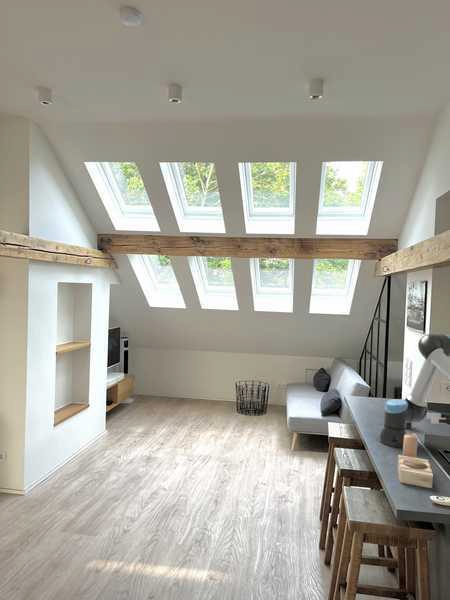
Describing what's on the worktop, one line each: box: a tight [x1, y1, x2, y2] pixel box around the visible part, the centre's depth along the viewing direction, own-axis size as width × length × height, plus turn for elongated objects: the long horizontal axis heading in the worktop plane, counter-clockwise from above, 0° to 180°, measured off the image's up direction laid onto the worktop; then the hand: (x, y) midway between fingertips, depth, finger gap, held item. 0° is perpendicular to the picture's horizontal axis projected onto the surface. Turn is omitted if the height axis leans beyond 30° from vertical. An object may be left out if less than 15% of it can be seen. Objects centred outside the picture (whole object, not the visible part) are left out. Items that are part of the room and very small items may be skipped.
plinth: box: [397, 454, 434, 489], centre depth 210 cm, size 20×13×6 cm, turn 162°
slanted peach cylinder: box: [401, 433, 419, 458], centre depth 231 cm, size 6×6×12 cm
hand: (428, 418), depth 230 cm, fingers open, 13 cm apart
